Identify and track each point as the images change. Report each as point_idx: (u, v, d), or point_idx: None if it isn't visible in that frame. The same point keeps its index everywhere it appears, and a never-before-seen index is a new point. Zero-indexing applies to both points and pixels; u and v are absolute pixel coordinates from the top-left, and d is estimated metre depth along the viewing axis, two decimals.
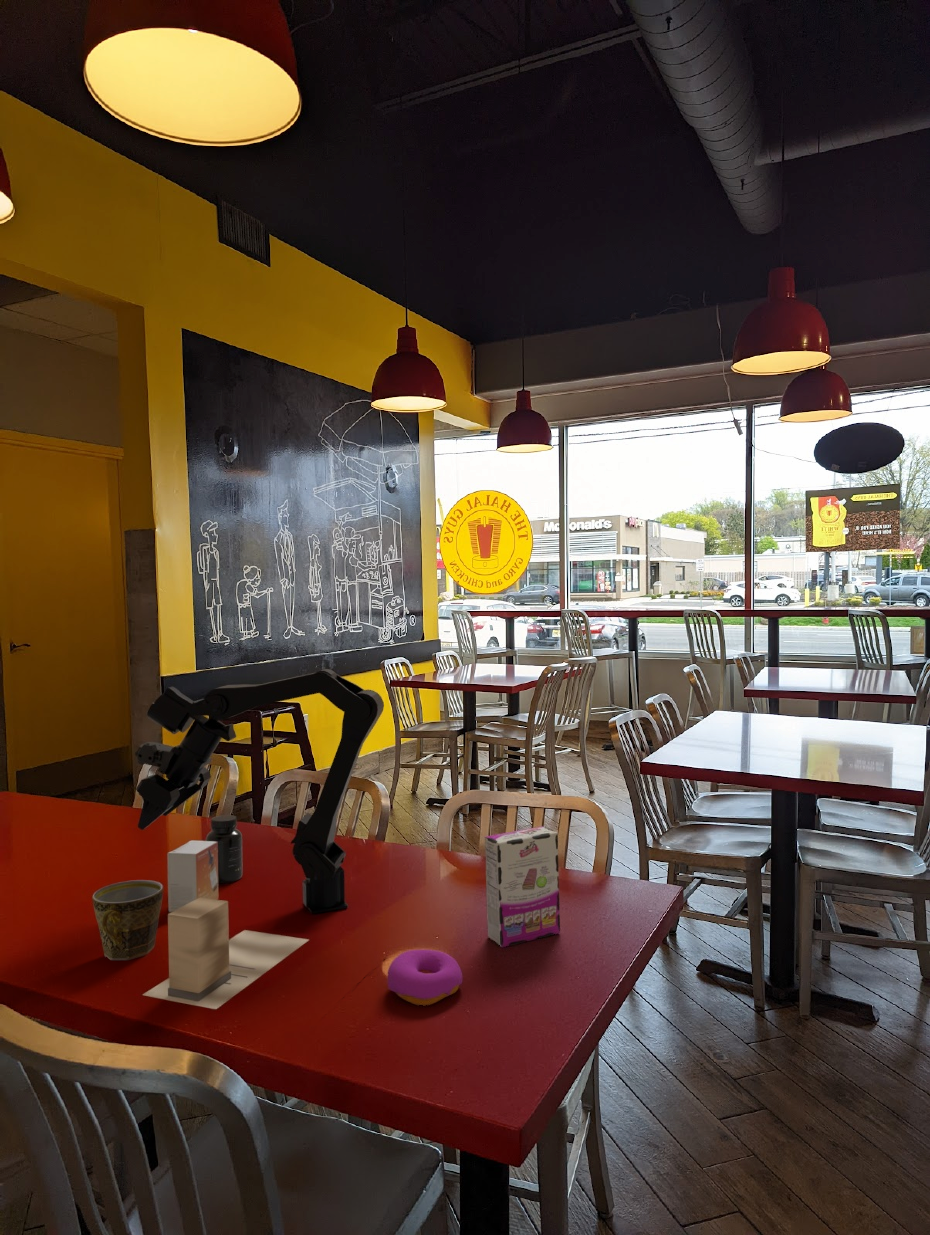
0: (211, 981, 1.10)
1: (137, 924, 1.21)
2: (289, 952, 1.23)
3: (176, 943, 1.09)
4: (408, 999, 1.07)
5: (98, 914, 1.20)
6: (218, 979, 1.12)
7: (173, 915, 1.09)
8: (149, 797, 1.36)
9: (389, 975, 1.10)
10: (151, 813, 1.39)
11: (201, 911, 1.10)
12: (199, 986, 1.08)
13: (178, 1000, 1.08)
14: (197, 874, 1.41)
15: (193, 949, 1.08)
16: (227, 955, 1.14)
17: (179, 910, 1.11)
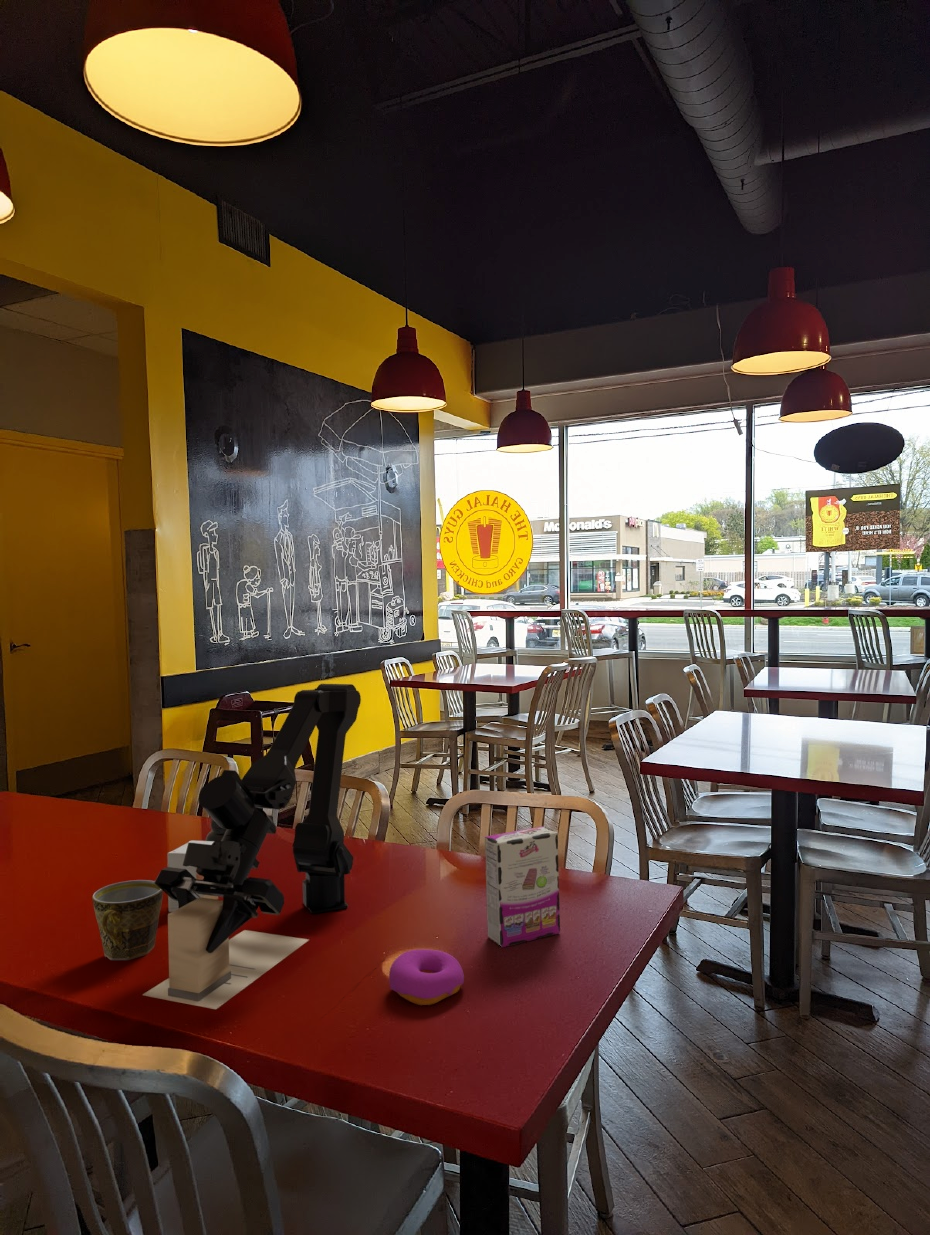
0: (211, 981, 1.10)
1: (137, 924, 1.21)
2: (289, 952, 1.23)
3: (176, 943, 1.09)
4: (410, 999, 1.07)
5: (98, 914, 1.20)
6: (218, 979, 1.12)
7: (173, 915, 1.09)
8: (272, 903, 1.12)
9: (391, 975, 1.10)
10: (230, 927, 1.12)
11: (201, 911, 1.10)
12: (199, 986, 1.08)
13: (178, 1000, 1.08)
14: (197, 874, 1.41)
15: (193, 949, 1.08)
16: (227, 955, 1.14)
17: (179, 910, 1.11)
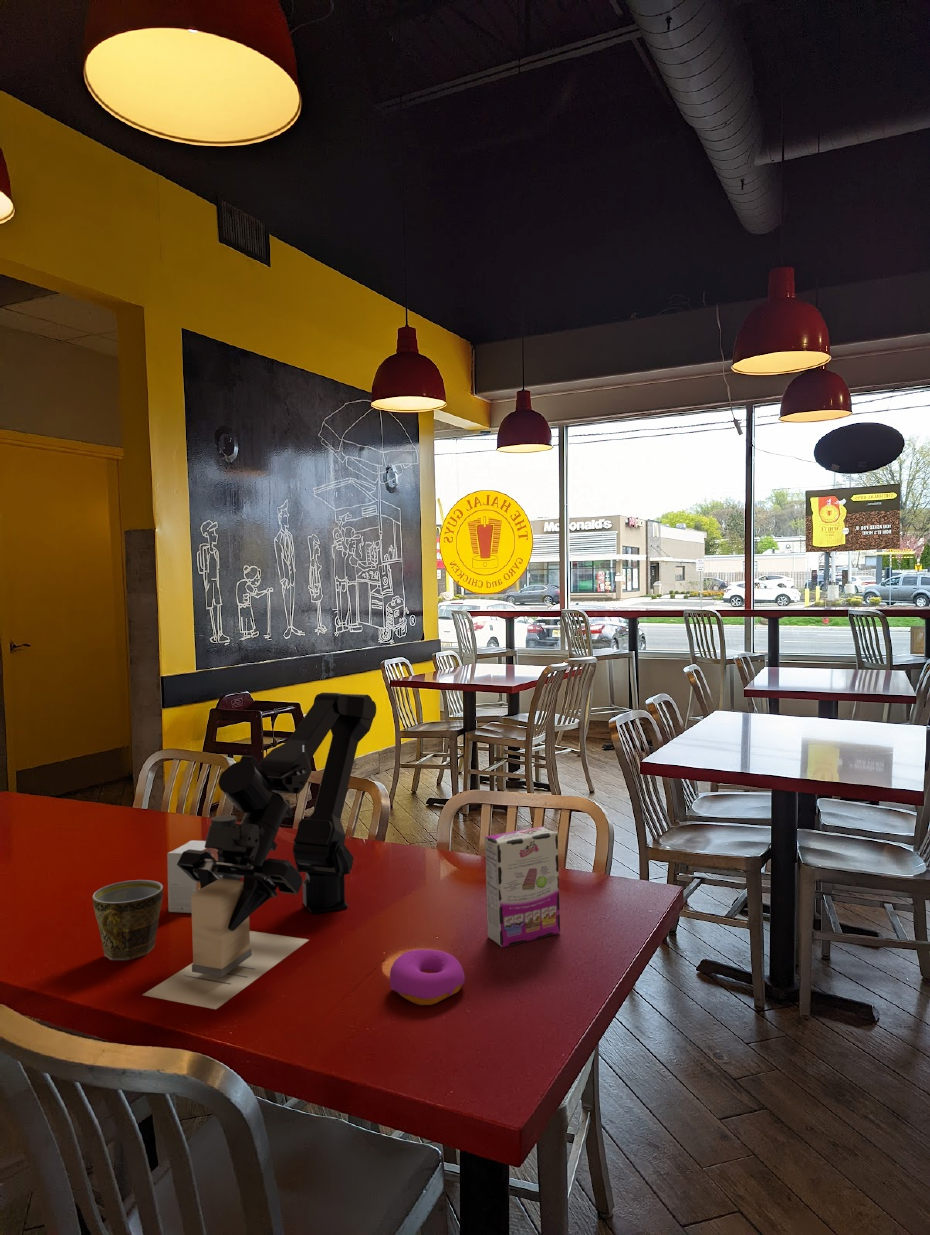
0: (233, 958, 1.15)
1: (137, 924, 1.21)
2: (289, 952, 1.23)
3: (199, 921, 1.13)
4: (410, 999, 1.07)
5: (98, 914, 1.20)
6: (240, 956, 1.16)
7: (196, 895, 1.14)
8: (291, 883, 1.16)
9: (391, 975, 1.10)
10: (250, 906, 1.17)
11: (223, 891, 1.15)
12: (222, 962, 1.13)
13: (178, 1000, 1.08)
14: None
15: (216, 927, 1.12)
16: (248, 933, 1.18)
17: (202, 890, 1.15)
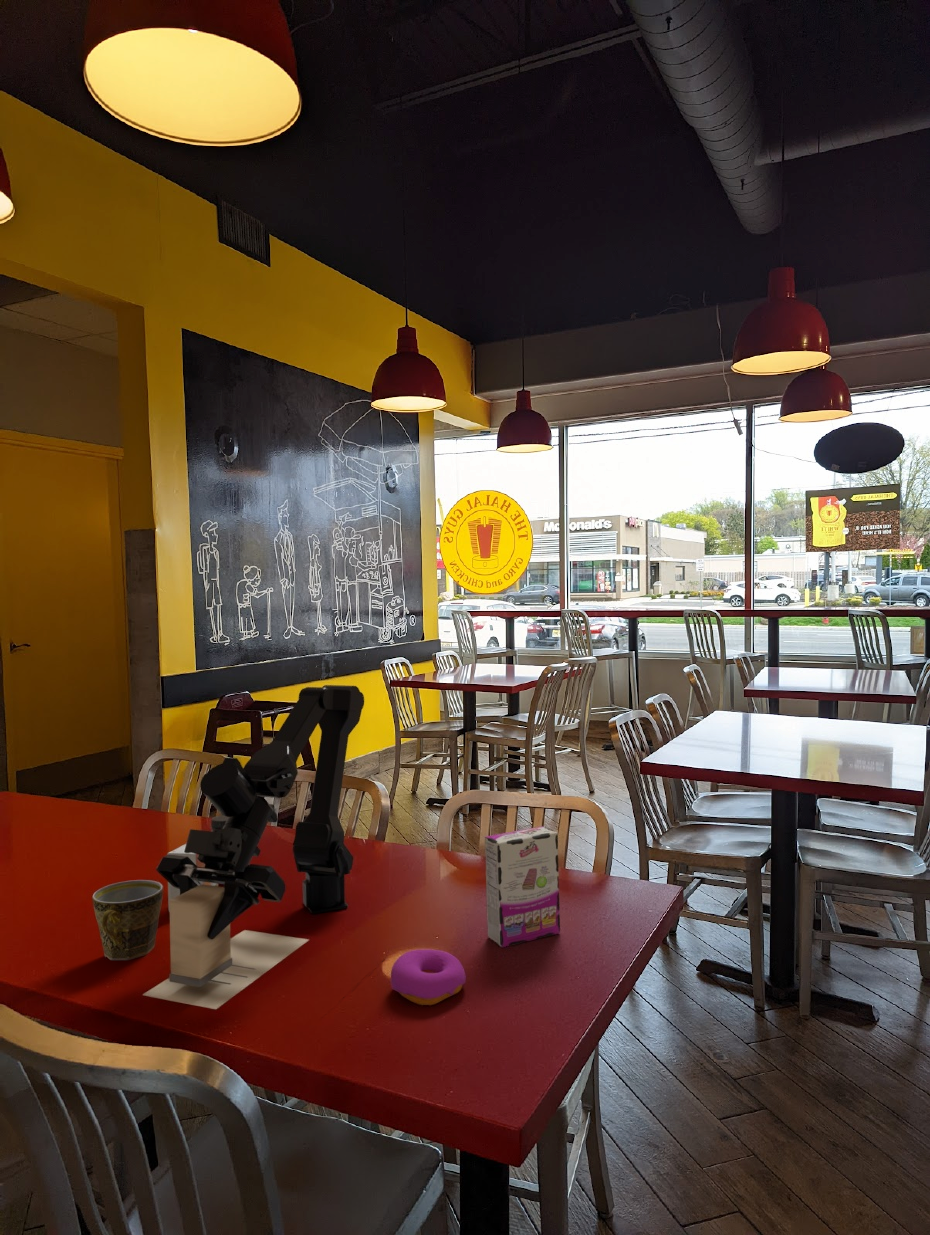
0: (212, 967, 1.11)
1: (137, 924, 1.21)
2: (289, 952, 1.23)
3: (178, 929, 1.09)
4: (411, 999, 1.07)
5: (98, 914, 1.20)
6: (220, 966, 1.12)
7: (175, 901, 1.09)
8: (274, 889, 1.12)
9: (392, 975, 1.10)
10: (231, 913, 1.12)
11: (203, 897, 1.10)
12: (200, 972, 1.08)
13: (178, 1000, 1.08)
14: None
15: (195, 935, 1.08)
16: (228, 942, 1.14)
17: (181, 896, 1.11)
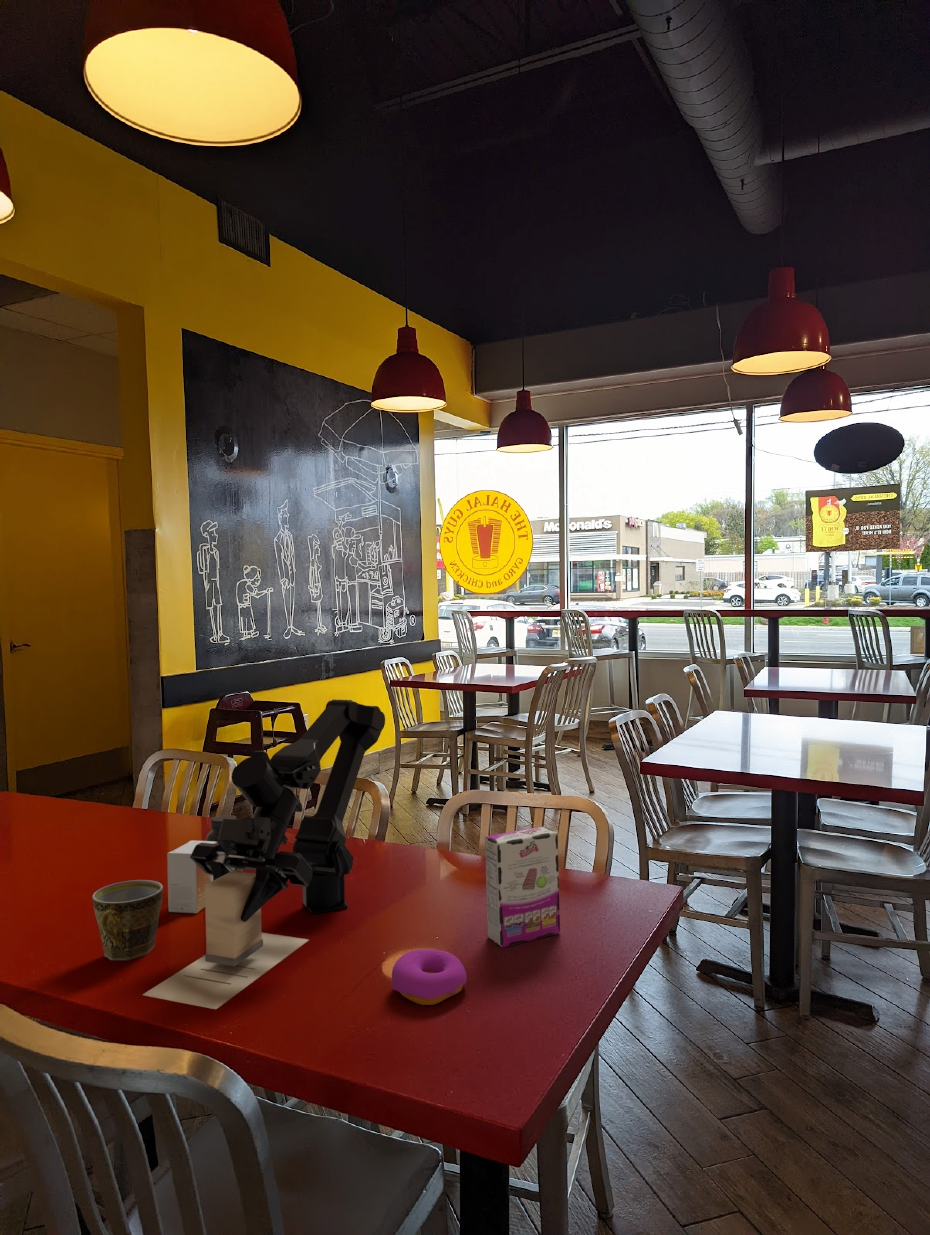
0: (245, 948, 1.18)
1: (137, 924, 1.21)
2: (289, 952, 1.23)
3: (213, 912, 1.16)
4: (412, 999, 1.07)
5: (98, 914, 1.20)
6: (252, 946, 1.19)
7: (210, 886, 1.16)
8: (302, 875, 1.19)
9: (393, 975, 1.10)
10: (262, 897, 1.19)
11: (236, 882, 1.17)
12: (235, 952, 1.15)
13: (178, 1000, 1.08)
14: (197, 874, 1.41)
15: (229, 917, 1.15)
16: (259, 924, 1.21)
17: (215, 881, 1.18)
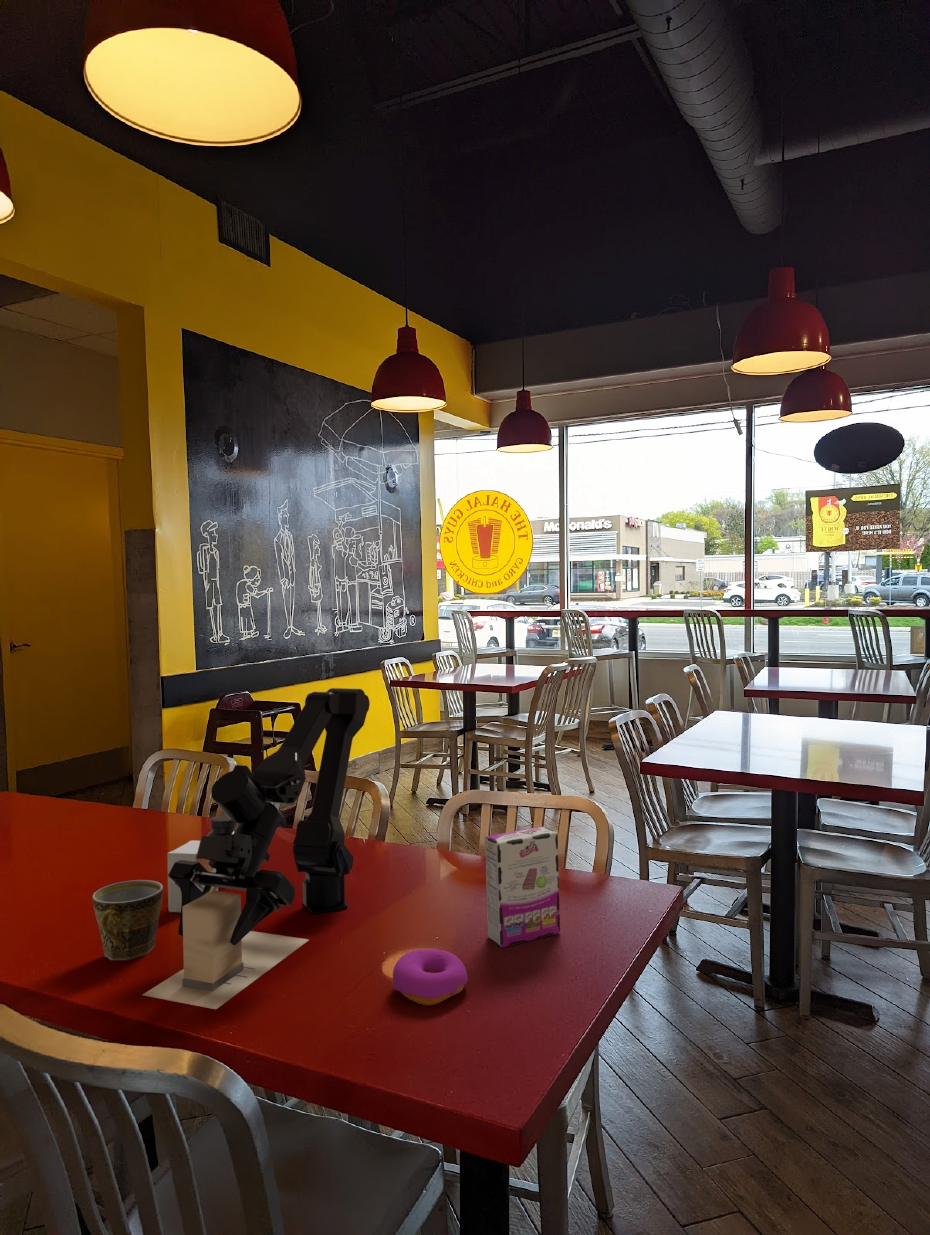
0: (224, 972, 1.13)
1: (137, 924, 1.21)
2: (289, 952, 1.23)
3: (190, 934, 1.12)
4: (413, 999, 1.07)
5: (98, 914, 1.20)
6: (231, 970, 1.14)
7: (188, 907, 1.12)
8: (284, 894, 1.15)
9: (394, 975, 1.10)
10: (253, 919, 1.14)
11: (215, 904, 1.13)
12: (213, 976, 1.11)
13: (178, 1000, 1.08)
14: None
15: (207, 941, 1.11)
16: (240, 947, 1.16)
17: (193, 902, 1.13)
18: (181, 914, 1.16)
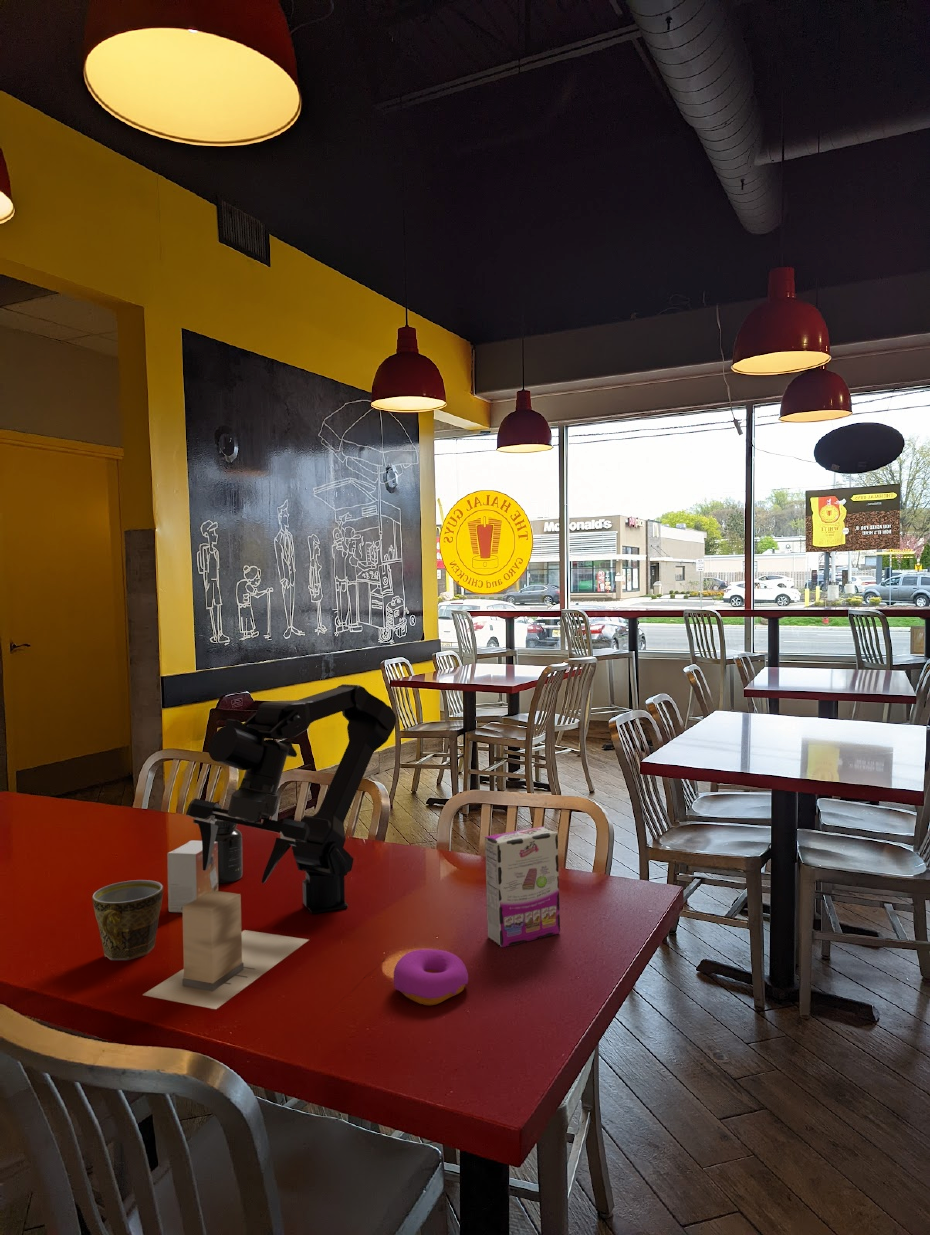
0: (224, 972, 1.13)
1: (137, 924, 1.21)
2: (289, 952, 1.23)
3: (190, 934, 1.12)
4: (414, 998, 1.07)
5: (98, 914, 1.20)
6: (231, 970, 1.14)
7: (188, 907, 1.12)
8: (305, 839, 1.28)
9: (395, 974, 1.10)
10: (277, 859, 1.28)
11: (215, 904, 1.13)
12: (213, 976, 1.11)
13: (178, 1000, 1.08)
14: (197, 874, 1.41)
15: (207, 941, 1.11)
16: (240, 947, 1.16)
17: (193, 902, 1.13)
18: (203, 852, 1.25)
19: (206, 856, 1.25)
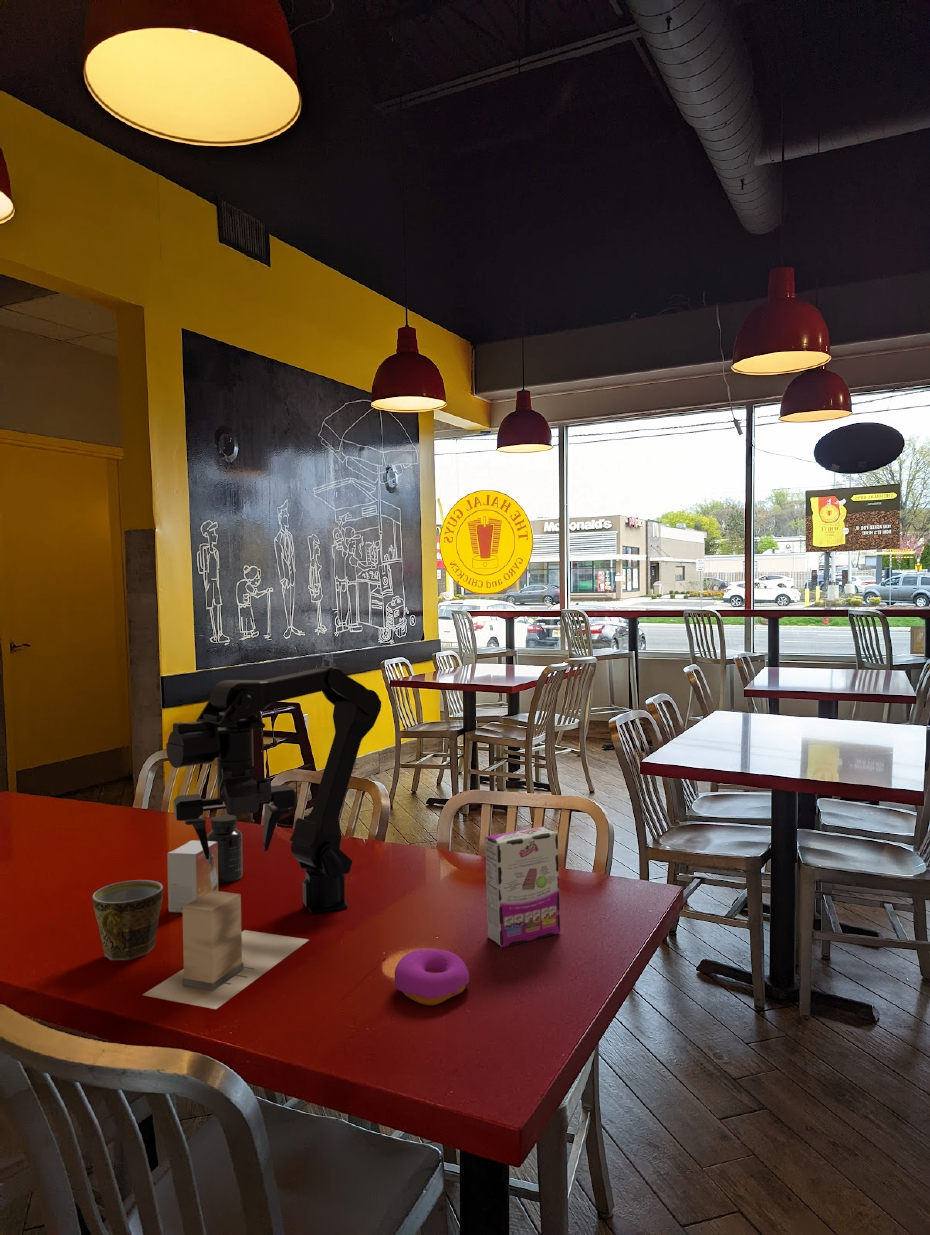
0: (224, 972, 1.13)
1: (137, 924, 1.21)
2: (289, 952, 1.23)
3: (190, 934, 1.12)
4: (415, 998, 1.07)
5: (98, 914, 1.20)
6: (231, 970, 1.14)
7: (188, 907, 1.12)
8: None
9: (396, 974, 1.10)
10: None
11: (215, 904, 1.13)
12: (213, 976, 1.11)
13: (178, 1000, 1.08)
14: (197, 874, 1.41)
15: (207, 941, 1.11)
16: (240, 947, 1.16)
17: (193, 902, 1.13)
18: (203, 844, 1.28)
19: (206, 847, 1.28)
